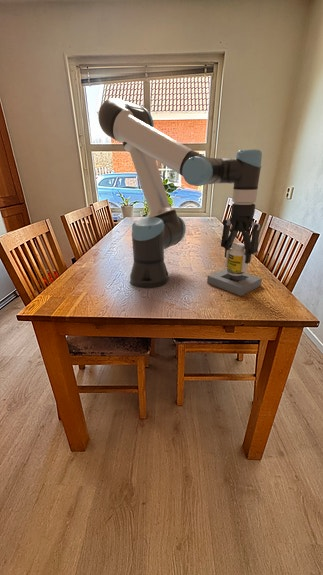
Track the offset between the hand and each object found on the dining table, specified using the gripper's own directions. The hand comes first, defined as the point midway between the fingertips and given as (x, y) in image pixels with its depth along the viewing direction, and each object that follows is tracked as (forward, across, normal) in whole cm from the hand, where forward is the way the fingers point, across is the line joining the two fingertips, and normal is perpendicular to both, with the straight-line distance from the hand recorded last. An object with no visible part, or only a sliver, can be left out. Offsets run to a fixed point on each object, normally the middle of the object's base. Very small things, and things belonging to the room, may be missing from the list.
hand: (235, 268), depth 92 cm
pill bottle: (+2, 0, 0) cm, 2 cm away
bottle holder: (+6, 0, 0) cm, 6 cm away
